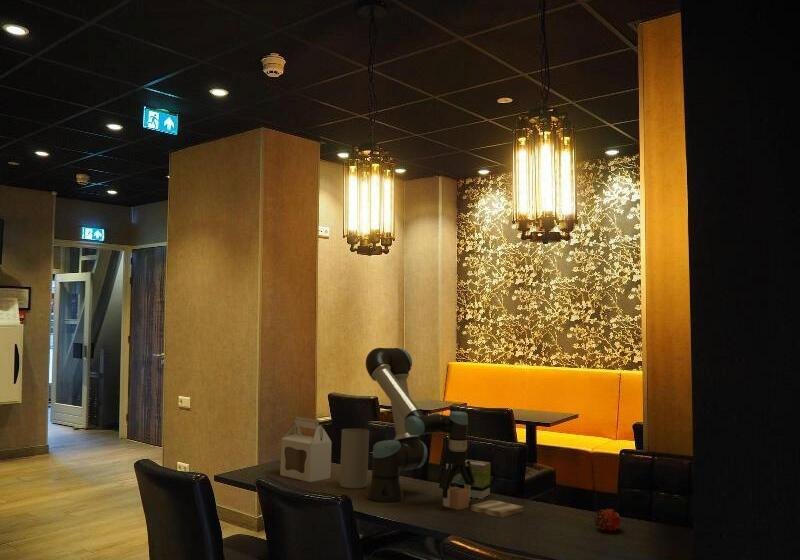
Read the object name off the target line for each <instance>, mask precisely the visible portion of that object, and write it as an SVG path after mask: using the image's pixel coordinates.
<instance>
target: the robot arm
mask: <svg viewBox="0 0 800 560" xmlns="http://www.w3.org/2000/svg"><path fill="white" fill-rule="evenodd" d="M412 360H413V359H412V357H411V354H410V353H409V352H408V350H406V349H404V348H399V347H376V348H373V349H372V350H371V351H370V352H368V354H367V355H366V359H365V369H366V372H367V374H368V375H369V377H370V379H372V381H373V382H377V384H378V385H379V387H380V388H381V389H382V391H383V392H384V393H385V395H386V396H387V398H388V399H389V400H390V405H391V411H392V418H393V423H394V430H395V437H394V439H388V440H381V441H377V442H376V443H375V444H373V447H372V455H371V456H372V460H371V461H372V464H371V465H372V467H371V469H372V470H371V481H370V483H369V487H368V490H367V493H366V498H367V499H368V500H370V501H373V502H379V503H380V502H382V503H393V502H395V503H396V502H400V501H402V500H403V499H404V493H403V490H402V484H401V480H400V472H402V471H408V470H410V471H411V470H416V469H420V468H421V467H423V466H424V465H425V463H426V461H427V458H428V448H427V445H426V444H425V443H424V442H423V441H421V437H420V436H422V435H430V434H432V435H433V434H447V435H448V449H449V450H448V460H449V461H450V462H449V463H447V462H446V463H444V470H443V472H442V475H441V478H440V482H439V485H438V487H439V488H440V489H442V506H444V507H445V506H447V507H446V508H448V507H449V506H450V490H449V488H451V483H452V480H453V478H454V476H456V474H459V473H460V474H461V476H462V477H463V479H464V481H465V483H466V484H464V489H468V490H469V503H470V502H471V498H470V492H471V485H473V483H474V482H475V480H474V477H473V474H472V470H471V467H470V461H467V460H468V451H467V449H468V430H469V429H468V427H469V426H468V425H469V420H468V416H469V415H468V413H467V412H465V411H458V410H457V411H456V410H455V411H450V412H449V415H446V414H441V413H430V414H429V415H428V414H427V415H424V414H423V413H422V411H421V410H420V409H419V407H418V406H417V404H416V403H415V401H414V400H413V399H412V398H411V395H410V393H409V387H408V382H407V381H408V380H407V379H408V377H409V376H410V373H409V372H410V371H411V369H412V366H413V361H412Z"/></svg>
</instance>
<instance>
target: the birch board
mask: <svg viewBox="0 0 800 560" xmlns="http://www.w3.org/2000/svg"><path fill="white" fill-rule="evenodd" d="M524 509H525V506H523V505H518V504H513V503H510V502H509V503H508V502H504V501H499V500H495V499H491V500H487V501H482V502H480V503H479V502H477V503H474V504H471V505H470V511H472V512H476V513H479V514H484V515H489V516H492V517H493V516H494V517H497V518H502V519H503V518H504V519H505V518H507V517H510V515H511V516H514V515H517V514H516V513H518V514H520V513H519V512H521V513H523V512H522V511H524V512H525V510H524ZM513 514H514V515H513Z"/></svg>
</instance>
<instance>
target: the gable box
mask: <svg viewBox="0 0 800 560" xmlns="http://www.w3.org/2000/svg"><path fill="white" fill-rule="evenodd" d="M293 420H294V422H292V424H291V425H290V426H289V428H288V430H287V431H286V432H285V434H284V435H283V437H282V438H281V449H280V450H281V451H280V453H281V454H280V474H279V475H280V476H283V477H286V478H290V479H294V480H298V481H299V480H300V481H302V482H307V483H312V482H319V481H324V480H330V479H331V471H332V469H331V467H332V443H333V442H332V440H331V438H330V437H329V435H328V433H327V431H325V428H324V427H323V426H322V425H320V420H319V419H318V418H310V417H305V416H304V417H302V416H296V418H294V419H293ZM301 428H306V429H307V428H308V429H311V430H312V429H314V430H315V431H314V434H313V436H311V435H305V434H302V431H301Z"/></svg>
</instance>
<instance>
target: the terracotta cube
mask: <svg viewBox="0 0 800 560" xmlns="http://www.w3.org/2000/svg"><path fill="white" fill-rule="evenodd" d="M449 490H450V506H449V507H447V506H444V507H446V508H449V509H453V510H458V511H459V509H460V510H463V509H467V508H469V507H470V502H469V490H468V489H464V488H459V487H452V488H451V487H449Z"/></svg>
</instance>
